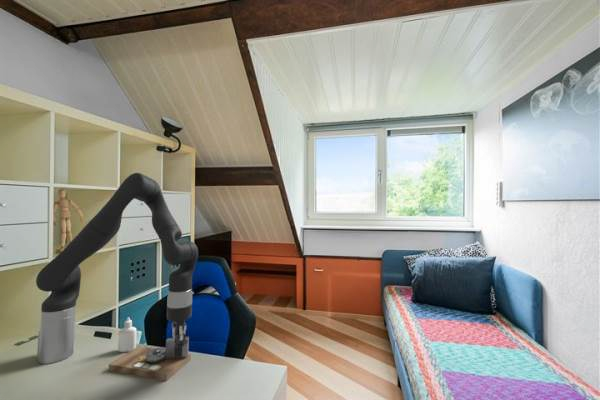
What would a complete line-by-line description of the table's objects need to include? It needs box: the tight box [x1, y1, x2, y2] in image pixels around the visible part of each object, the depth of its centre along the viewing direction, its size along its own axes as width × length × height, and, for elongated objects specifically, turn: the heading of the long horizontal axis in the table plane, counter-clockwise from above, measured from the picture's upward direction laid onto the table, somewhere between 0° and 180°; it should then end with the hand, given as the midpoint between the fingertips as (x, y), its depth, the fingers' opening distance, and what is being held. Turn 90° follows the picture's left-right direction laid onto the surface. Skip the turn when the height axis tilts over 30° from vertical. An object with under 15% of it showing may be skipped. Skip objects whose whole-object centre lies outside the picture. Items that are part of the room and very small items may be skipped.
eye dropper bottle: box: [117, 317, 138, 353], centre depth 101 cm, size 4×6×12 cm
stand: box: [108, 345, 192, 381], centre depth 91 cm, size 22×12×2 cm, turn 77°
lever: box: [138, 336, 190, 364], centre depth 91 cm, size 6×16×6 cm, turn 102°
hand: (178, 356), depth 87 cm, fingers closed
